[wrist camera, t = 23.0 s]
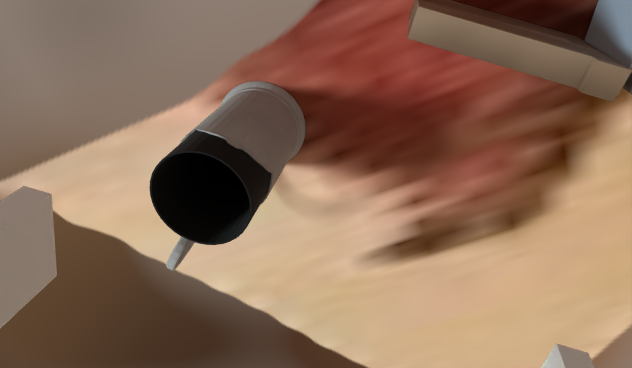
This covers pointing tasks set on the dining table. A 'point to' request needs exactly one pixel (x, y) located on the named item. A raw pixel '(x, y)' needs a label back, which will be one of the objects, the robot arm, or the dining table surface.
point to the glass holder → (227, 166)
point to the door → (612, 30)
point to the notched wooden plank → (518, 46)
